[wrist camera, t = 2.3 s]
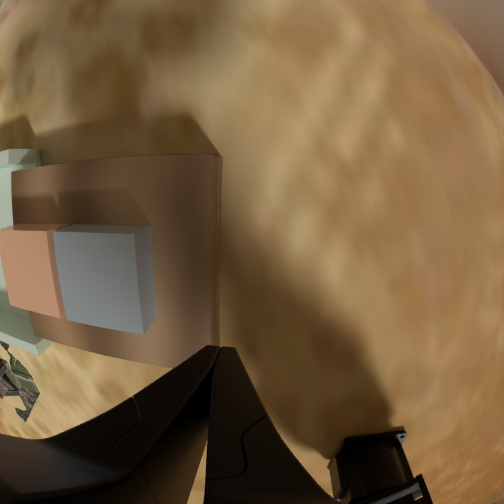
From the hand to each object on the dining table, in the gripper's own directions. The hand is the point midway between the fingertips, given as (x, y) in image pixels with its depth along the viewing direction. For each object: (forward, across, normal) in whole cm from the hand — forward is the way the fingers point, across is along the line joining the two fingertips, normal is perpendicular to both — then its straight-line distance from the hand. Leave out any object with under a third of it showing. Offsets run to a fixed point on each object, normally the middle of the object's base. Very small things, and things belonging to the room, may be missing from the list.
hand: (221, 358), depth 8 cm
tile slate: (+6, +7, 0) cm, 10 cm away
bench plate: (+9, +9, 0) cm, 13 cm away
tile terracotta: (+6, +13, 0) cm, 14 cm away
